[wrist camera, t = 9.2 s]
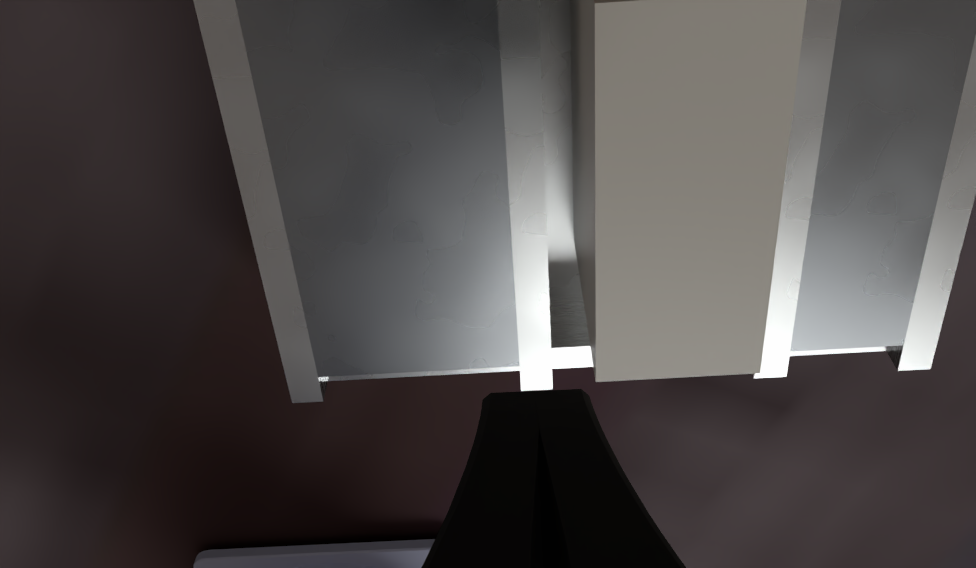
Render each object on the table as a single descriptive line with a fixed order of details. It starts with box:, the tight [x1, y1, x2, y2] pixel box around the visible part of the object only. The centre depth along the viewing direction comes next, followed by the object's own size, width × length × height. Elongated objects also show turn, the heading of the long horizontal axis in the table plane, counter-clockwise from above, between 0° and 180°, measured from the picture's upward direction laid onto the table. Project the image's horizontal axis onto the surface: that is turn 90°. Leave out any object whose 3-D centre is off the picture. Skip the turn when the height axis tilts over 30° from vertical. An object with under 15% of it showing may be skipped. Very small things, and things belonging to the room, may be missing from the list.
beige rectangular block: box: [570, 0, 807, 382], centre depth 17 cm, size 7×3×5 cm, turn 4°
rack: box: [193, 0, 976, 403], centre depth 19 cm, size 10×14×3 cm
